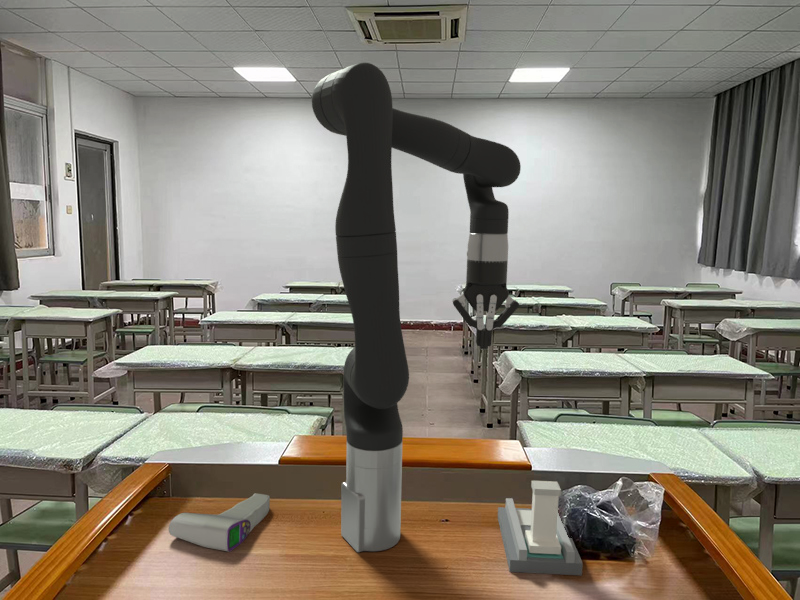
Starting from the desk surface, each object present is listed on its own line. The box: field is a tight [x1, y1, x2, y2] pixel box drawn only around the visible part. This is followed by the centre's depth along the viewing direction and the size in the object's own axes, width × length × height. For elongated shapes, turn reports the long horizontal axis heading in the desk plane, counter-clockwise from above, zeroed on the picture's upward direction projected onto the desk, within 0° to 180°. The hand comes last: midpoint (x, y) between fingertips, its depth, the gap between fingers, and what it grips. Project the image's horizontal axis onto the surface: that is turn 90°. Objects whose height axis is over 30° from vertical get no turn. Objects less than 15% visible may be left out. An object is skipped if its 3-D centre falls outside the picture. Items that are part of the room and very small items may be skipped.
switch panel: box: [497, 497, 584, 576], centre depth 96 cm, size 16×11×4 cm
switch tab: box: [525, 480, 562, 554], centre depth 91 cm, size 4×5×10 cm
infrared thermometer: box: [168, 492, 271, 553], centre depth 100 cm, size 5×12×15 cm
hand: (483, 348), depth 110 cm, fingers closed
